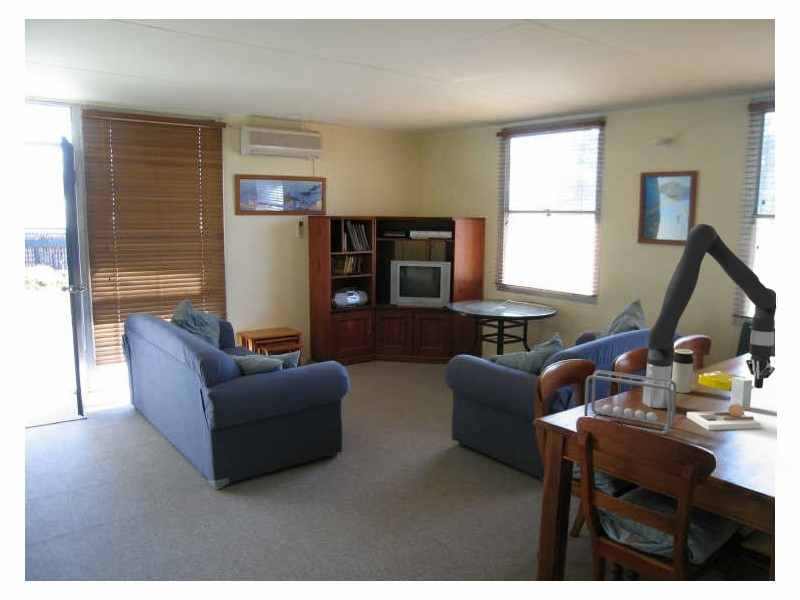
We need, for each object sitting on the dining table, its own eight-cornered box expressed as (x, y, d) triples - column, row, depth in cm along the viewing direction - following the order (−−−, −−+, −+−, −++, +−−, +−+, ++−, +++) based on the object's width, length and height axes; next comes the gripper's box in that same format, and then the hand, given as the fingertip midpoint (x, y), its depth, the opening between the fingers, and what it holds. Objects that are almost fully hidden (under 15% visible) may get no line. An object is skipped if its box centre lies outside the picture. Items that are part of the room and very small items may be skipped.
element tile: (728, 392, 268) (729, 381, 268) (696, 383, 281) (697, 373, 280) (747, 387, 276) (748, 376, 275) (715, 379, 289) (716, 369, 288)
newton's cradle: (674, 427, 223) (677, 380, 221) (668, 436, 214) (672, 387, 212) (591, 412, 239) (593, 368, 237) (583, 420, 231) (585, 374, 228)
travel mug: (692, 394, 263) (695, 353, 261) (672, 392, 266) (674, 352, 263) (689, 389, 271) (692, 349, 268) (670, 387, 273) (673, 348, 271)
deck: (708, 430, 220) (708, 422, 220) (686, 417, 234) (687, 410, 234) (760, 428, 222) (760, 420, 222) (735, 415, 236) (736, 408, 236)
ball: (733, 419, 226) (734, 406, 225) (724, 415, 231) (726, 402, 230) (746, 419, 226) (747, 406, 226) (737, 414, 231) (738, 401, 231)
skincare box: (750, 409, 244) (752, 380, 242) (741, 410, 242) (744, 381, 241) (737, 404, 249) (740, 376, 248) (729, 405, 248) (731, 377, 246)
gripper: (740, 339, 231) (737, 383, 234) (764, 346, 218) (761, 393, 221) (759, 338, 232) (755, 382, 235) (784, 346, 219) (780, 392, 222)
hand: (758, 387), depth 228 cm, fingers closed
